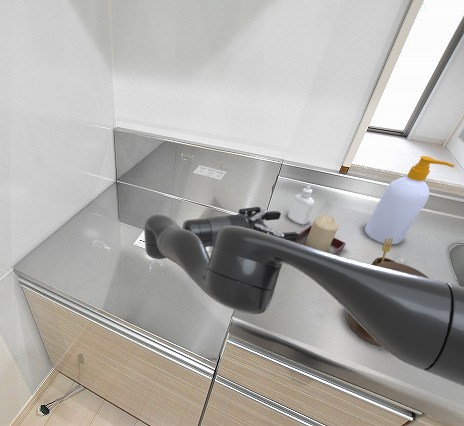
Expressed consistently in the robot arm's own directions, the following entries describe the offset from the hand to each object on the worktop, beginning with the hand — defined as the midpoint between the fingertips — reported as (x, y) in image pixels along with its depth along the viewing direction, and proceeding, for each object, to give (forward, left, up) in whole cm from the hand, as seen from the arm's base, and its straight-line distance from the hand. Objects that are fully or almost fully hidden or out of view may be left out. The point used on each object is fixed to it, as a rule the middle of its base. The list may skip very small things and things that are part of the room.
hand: (287, 225), depth 73 cm
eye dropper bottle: (+5, -17, -9) cm, 20 cm away
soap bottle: (-14, -29, -9) cm, 34 cm away
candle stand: (-24, +5, -9) cm, 26 cm away
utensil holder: (-20, -7, -9) cm, 23 cm away
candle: (-5, -9, -9) cm, 14 cm away
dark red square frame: (-5, -9, -9) cm, 14 cm away
